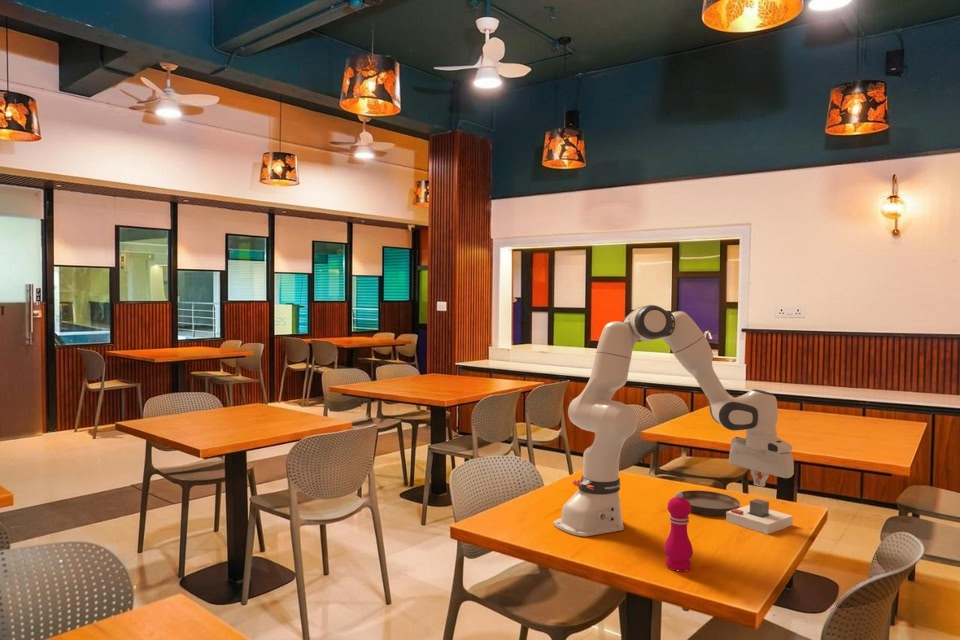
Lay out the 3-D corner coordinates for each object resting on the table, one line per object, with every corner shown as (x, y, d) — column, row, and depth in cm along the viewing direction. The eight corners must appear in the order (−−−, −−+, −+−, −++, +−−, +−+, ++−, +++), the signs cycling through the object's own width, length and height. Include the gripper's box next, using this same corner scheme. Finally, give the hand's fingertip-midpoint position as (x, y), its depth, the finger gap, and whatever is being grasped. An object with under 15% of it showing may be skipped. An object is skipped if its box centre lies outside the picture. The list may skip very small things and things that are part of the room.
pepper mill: (686, 561, 174) (688, 487, 173) (696, 572, 167) (698, 495, 166) (660, 561, 174) (661, 487, 173) (669, 572, 167) (670, 495, 166)
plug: (761, 526, 202) (761, 504, 201) (749, 522, 205) (749, 500, 205) (768, 524, 204) (768, 502, 204) (756, 520, 207) (757, 498, 207)
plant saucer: (701, 495, 234) (702, 486, 234) (752, 511, 217) (753, 501, 217) (662, 504, 223) (662, 495, 223) (712, 522, 206) (713, 512, 206)
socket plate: (767, 534, 195) (767, 522, 195) (726, 521, 206) (726, 509, 206) (792, 525, 203) (792, 513, 203) (751, 513, 214) (751, 501, 214)
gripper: (725, 436, 210) (724, 478, 210) (786, 449, 193) (784, 495, 193) (737, 434, 213) (735, 476, 214) (797, 447, 197) (795, 492, 197)
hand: (759, 485), depth 203 cm, fingers closed
